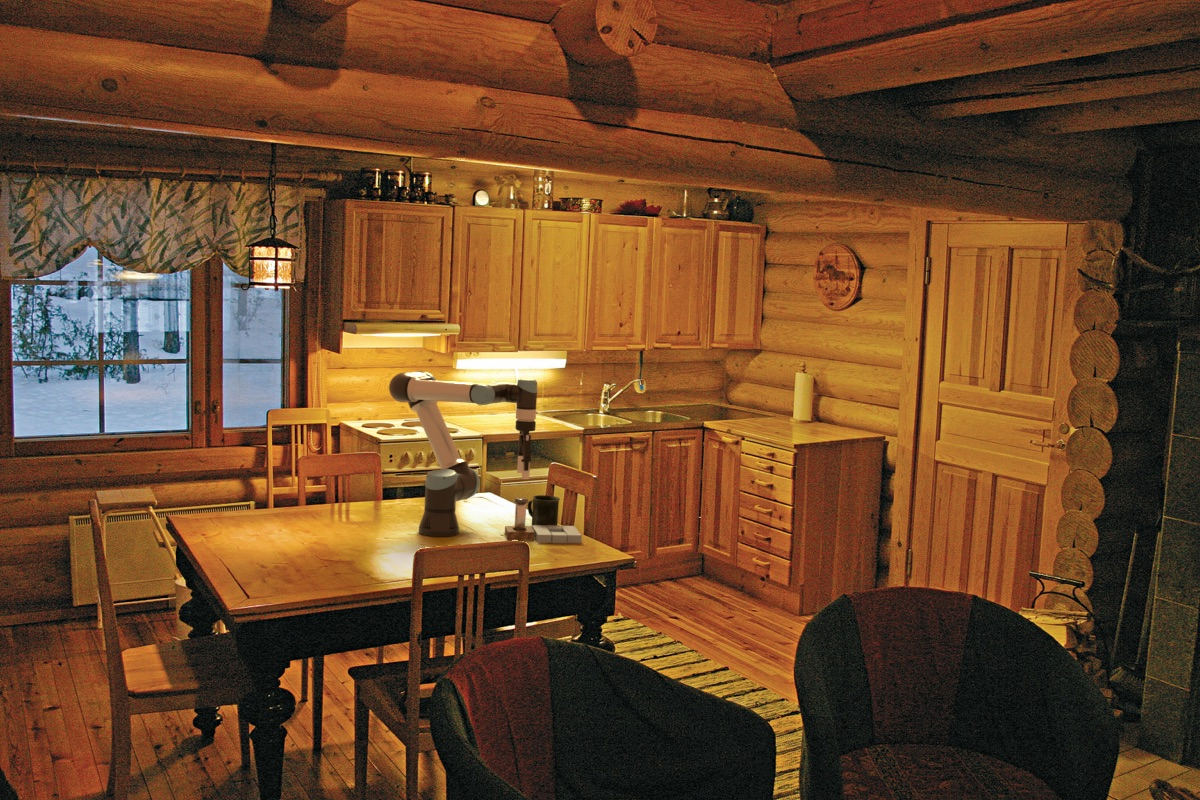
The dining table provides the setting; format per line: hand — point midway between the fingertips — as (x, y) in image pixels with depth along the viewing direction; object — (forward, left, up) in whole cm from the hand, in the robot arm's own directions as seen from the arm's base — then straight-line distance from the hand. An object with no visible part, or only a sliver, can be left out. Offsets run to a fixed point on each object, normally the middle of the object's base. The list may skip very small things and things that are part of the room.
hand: (523, 475), depth 403 cm
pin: (0, 0, -24) cm, 24 cm away
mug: (+11, +18, -24) cm, 32 cm away
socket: (+14, -1, -23) cm, 27 cm away
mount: (0, 0, -23) cm, 23 cm away
